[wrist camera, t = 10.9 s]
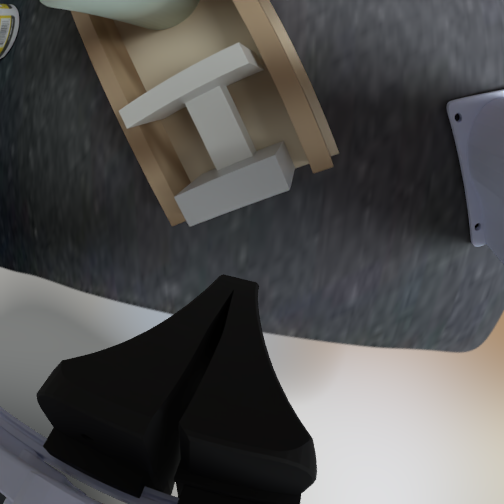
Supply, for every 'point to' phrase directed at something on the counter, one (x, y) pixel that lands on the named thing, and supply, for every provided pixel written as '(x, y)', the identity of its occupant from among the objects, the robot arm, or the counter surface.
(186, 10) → the green jar
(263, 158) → the pusher
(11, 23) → the supplement bottle
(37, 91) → the counter surface
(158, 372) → the robot arm
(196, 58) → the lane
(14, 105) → the counter surface
